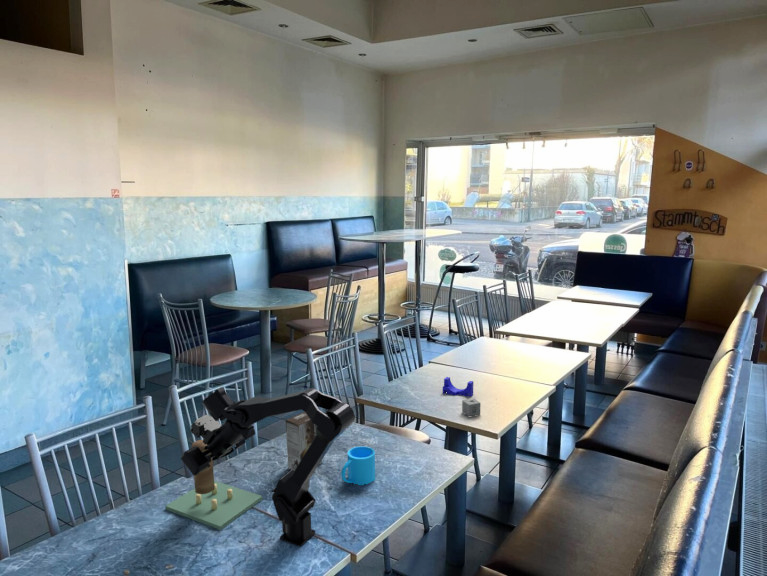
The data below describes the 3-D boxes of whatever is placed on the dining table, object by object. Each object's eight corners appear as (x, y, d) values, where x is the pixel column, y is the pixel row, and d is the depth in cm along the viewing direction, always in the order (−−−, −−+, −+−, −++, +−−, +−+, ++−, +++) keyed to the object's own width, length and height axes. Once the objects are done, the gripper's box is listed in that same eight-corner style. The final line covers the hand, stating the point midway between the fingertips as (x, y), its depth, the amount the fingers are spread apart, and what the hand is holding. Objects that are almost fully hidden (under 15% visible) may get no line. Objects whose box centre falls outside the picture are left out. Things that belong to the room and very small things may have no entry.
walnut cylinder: (217, 490, 147) (214, 444, 145) (198, 496, 144) (194, 449, 142) (211, 482, 151) (207, 437, 149) (192, 488, 148) (188, 443, 146)
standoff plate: (262, 499, 153) (261, 487, 153) (220, 530, 139) (219, 517, 139) (210, 482, 163) (209, 471, 162) (165, 509, 149) (164, 497, 148)
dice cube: (480, 415, 210) (480, 402, 209) (468, 417, 208) (469, 404, 207) (473, 410, 215) (473, 398, 214) (462, 412, 213) (462, 400, 212)
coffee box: (308, 457, 177) (306, 410, 175) (322, 463, 173) (321, 415, 171) (286, 468, 170) (284, 419, 168) (301, 475, 166) (299, 424, 164)
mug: (361, 468, 170) (361, 443, 169) (381, 477, 164) (380, 452, 163) (332, 483, 161) (331, 457, 160) (351, 493, 156) (351, 466, 154)
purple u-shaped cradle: (442, 393, 233) (442, 380, 232) (446, 390, 237) (446, 376, 236) (469, 398, 228) (469, 384, 227) (473, 394, 232) (473, 381, 231)
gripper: (234, 396, 150) (206, 428, 157) (183, 422, 134) (154, 456, 140) (259, 428, 148) (229, 459, 155) (211, 458, 132) (179, 491, 138)
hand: (199, 465), depth 147 cm, fingers closed on walnut cylinder, 5 cm apart
